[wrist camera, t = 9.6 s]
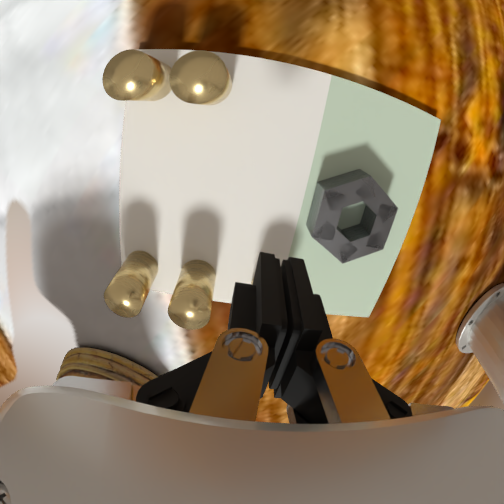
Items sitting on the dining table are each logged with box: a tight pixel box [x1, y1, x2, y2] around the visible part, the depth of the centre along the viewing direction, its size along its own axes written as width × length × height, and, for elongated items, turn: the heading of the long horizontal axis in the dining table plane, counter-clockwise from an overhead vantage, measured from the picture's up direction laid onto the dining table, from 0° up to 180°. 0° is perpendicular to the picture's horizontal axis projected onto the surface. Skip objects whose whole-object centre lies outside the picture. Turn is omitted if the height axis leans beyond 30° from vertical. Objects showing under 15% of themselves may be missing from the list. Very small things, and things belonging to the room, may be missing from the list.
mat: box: [119, 49, 441, 317], centre depth 21 cm, size 24×20×1 cm
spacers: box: [103, 50, 254, 329], centre depth 18 cm, size 14×18×5 cm
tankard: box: [56, 348, 158, 386], centre depth 23 cm, size 18×24×25 cm
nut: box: [306, 169, 398, 264], centre depth 20 cm, size 6×7×2 cm
